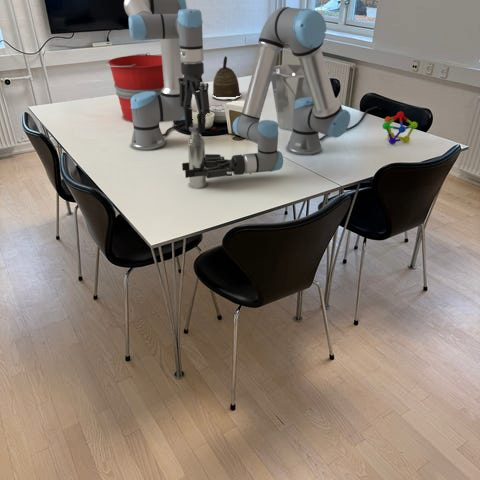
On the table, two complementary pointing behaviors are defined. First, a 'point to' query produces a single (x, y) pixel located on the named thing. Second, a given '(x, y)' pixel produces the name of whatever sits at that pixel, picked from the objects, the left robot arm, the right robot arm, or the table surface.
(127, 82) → the bucket
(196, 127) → the cap
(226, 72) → the bell
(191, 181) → the bottle
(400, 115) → the educational toy
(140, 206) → the table surface
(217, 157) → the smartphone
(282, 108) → the bucket
